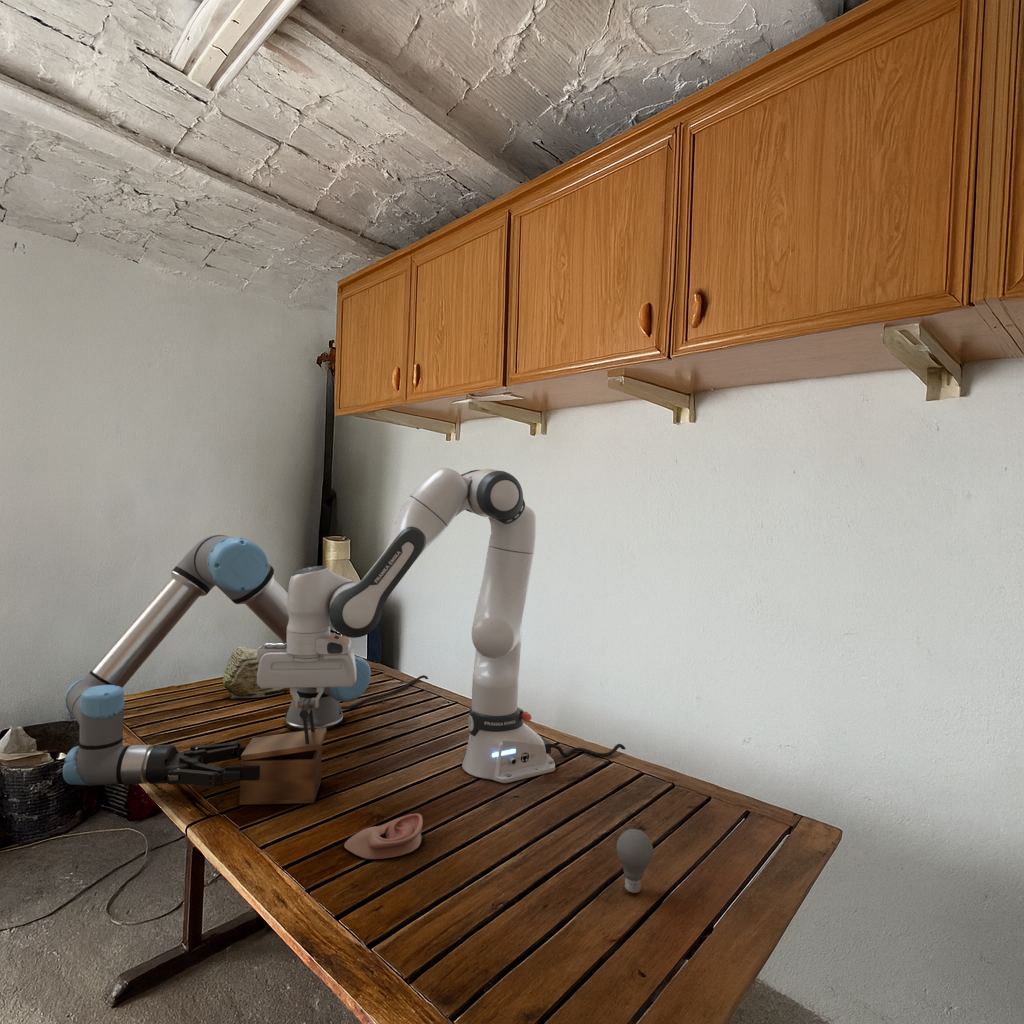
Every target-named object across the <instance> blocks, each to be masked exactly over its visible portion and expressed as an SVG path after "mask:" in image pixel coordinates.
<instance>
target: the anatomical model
mask: <svg viewBox="0 0 1024 1024" xmlns="http://www.w3.org/2000/svg"><path fill="white" fill-rule="evenodd" d="M423 820H424V819H423V815H421V814H420V813H409V814H405V815H403V816H400V817H397V818H395V819H392V820H390V821H388V822H386V823H383V824H381V825H378V826H377V825H376V826H370V827H367V828H364V829H362V830H360V831H358V832H356V833H355V834H353V835H352V836H351V837H350V838H348V839H347V840H346V841H345V842H344V845H343V847H344V849H346V850H347V851H348V852H350V853H351V854H353V855H355V856H358V857H360V858H362V859H366V860H381V859H389V858H390V859H391V858H396V857H400V856H404V855H406V854H409V853H412V852H414V851H415V850H417V849H418V848H419V847H420V845H421V842H422V829H423V826H424V825H423V823H424V821H423Z"/></svg>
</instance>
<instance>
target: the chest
mask: <svg viewBox="0 0 1024 1024" xmlns="http://www.w3.org/2000/svg"><path fill="white" fill-rule="evenodd" d="M322 760H323V745H322V746H321V749H319V750H312V751H306V752H299V753H292V754H285V755H279V756H272V757H265V758H258V759H252V760H245V761H241V760H240V766H260V773H259V780H243V781H239V802H238V803H239V805H240V806H244V805H245V806H246V805H247V806H248V805H251V806H252V805H289V804H291V805H292V804H315V801H316V798H317V795H318V792H319V790H320V786H321V783H322V762H323V761H322Z"/></svg>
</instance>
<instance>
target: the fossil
mask: <svg viewBox="0 0 1024 1024" xmlns="http://www.w3.org/2000/svg"><path fill="white" fill-rule="evenodd" d="M258 649H259V647H258V648H251V647H247V646H246V647H245V646H238V647H237V648H236V649H235V650H233V651H232V653H231V656H230V657H229V659H228V660H227V663H226V666H225V668H224V671H223V675H222V676H223V677H222V685H223V687H224V688H225V690H226V691H228V693H229V698H230V699H250V698H264V697H271V696H275V695H281V694H284V693H285V691H286V689H287V688H260V687H259V686H258V685H257V673H258V667H259V662H258V661H257V650H258Z"/></svg>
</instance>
